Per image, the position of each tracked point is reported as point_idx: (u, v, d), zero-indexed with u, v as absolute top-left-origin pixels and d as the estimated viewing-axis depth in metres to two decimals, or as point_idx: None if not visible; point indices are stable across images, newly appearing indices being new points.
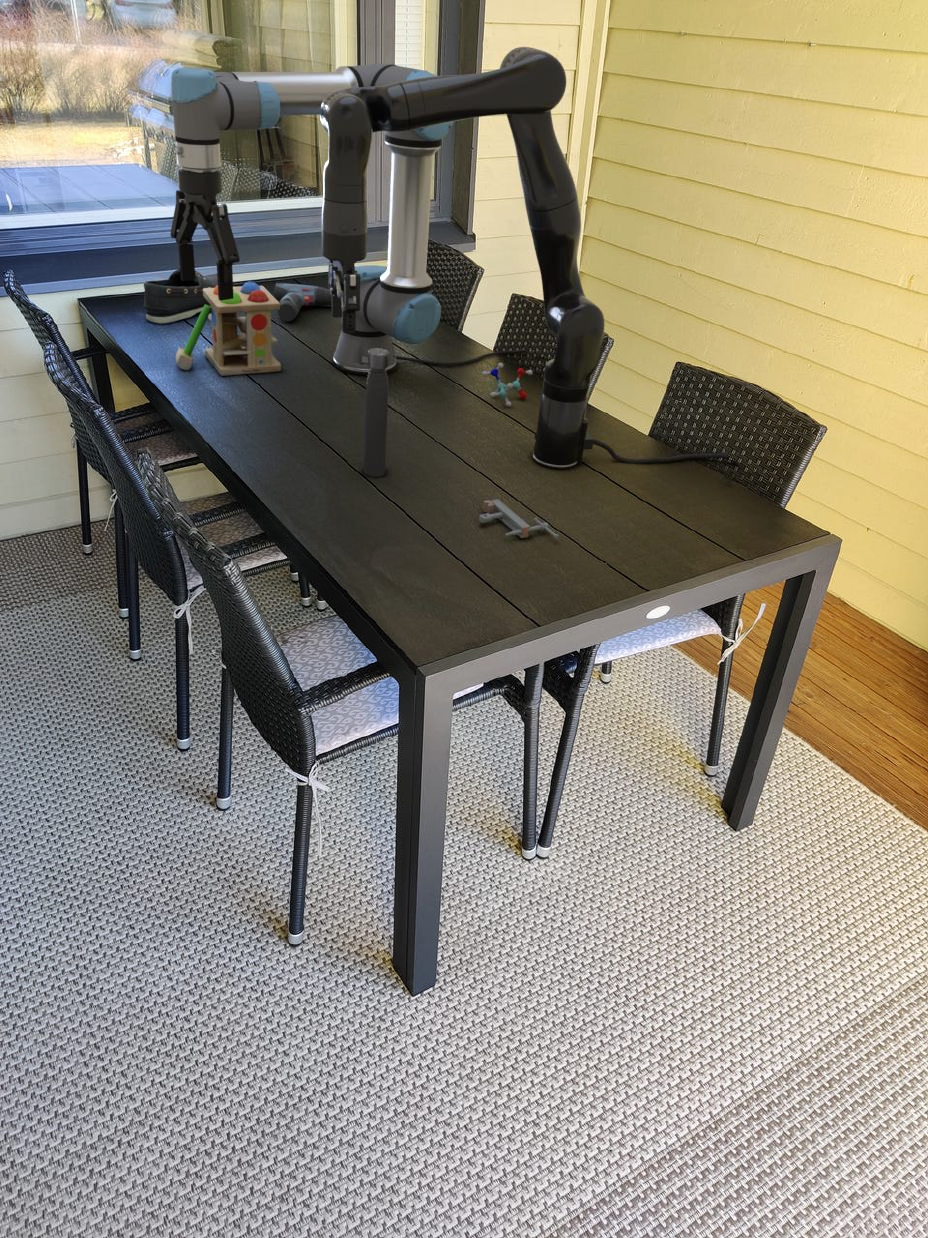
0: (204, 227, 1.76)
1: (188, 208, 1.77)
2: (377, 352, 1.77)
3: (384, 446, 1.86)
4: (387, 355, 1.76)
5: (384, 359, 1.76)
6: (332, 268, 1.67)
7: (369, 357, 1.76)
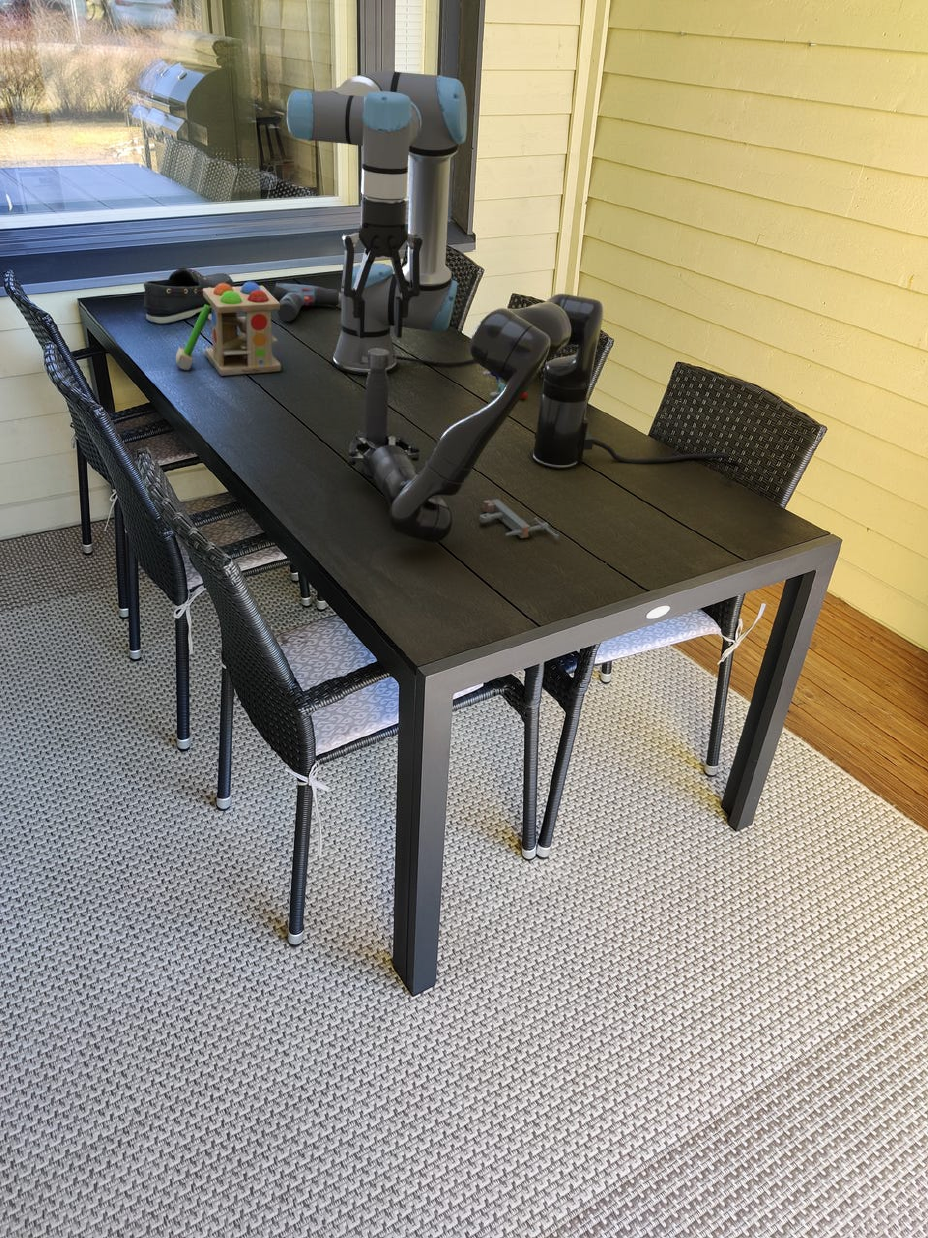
0: None
1: None
2: (377, 352, 1.77)
3: None
4: (387, 355, 1.76)
5: (384, 359, 1.76)
6: None
7: (369, 357, 1.76)
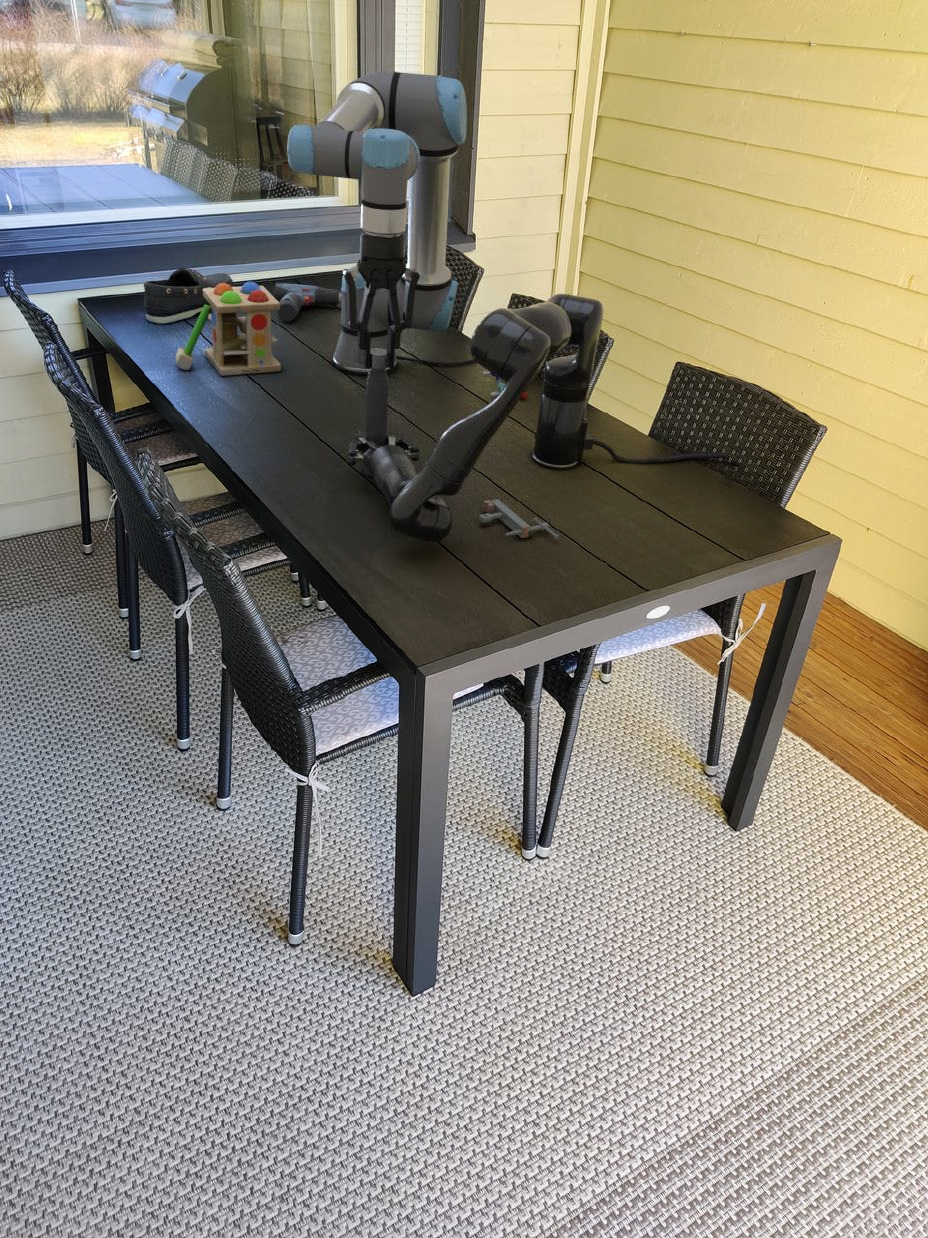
0: None
1: None
2: (377, 352, 1.77)
3: None
4: (387, 355, 1.76)
5: (384, 359, 1.76)
6: None
7: None
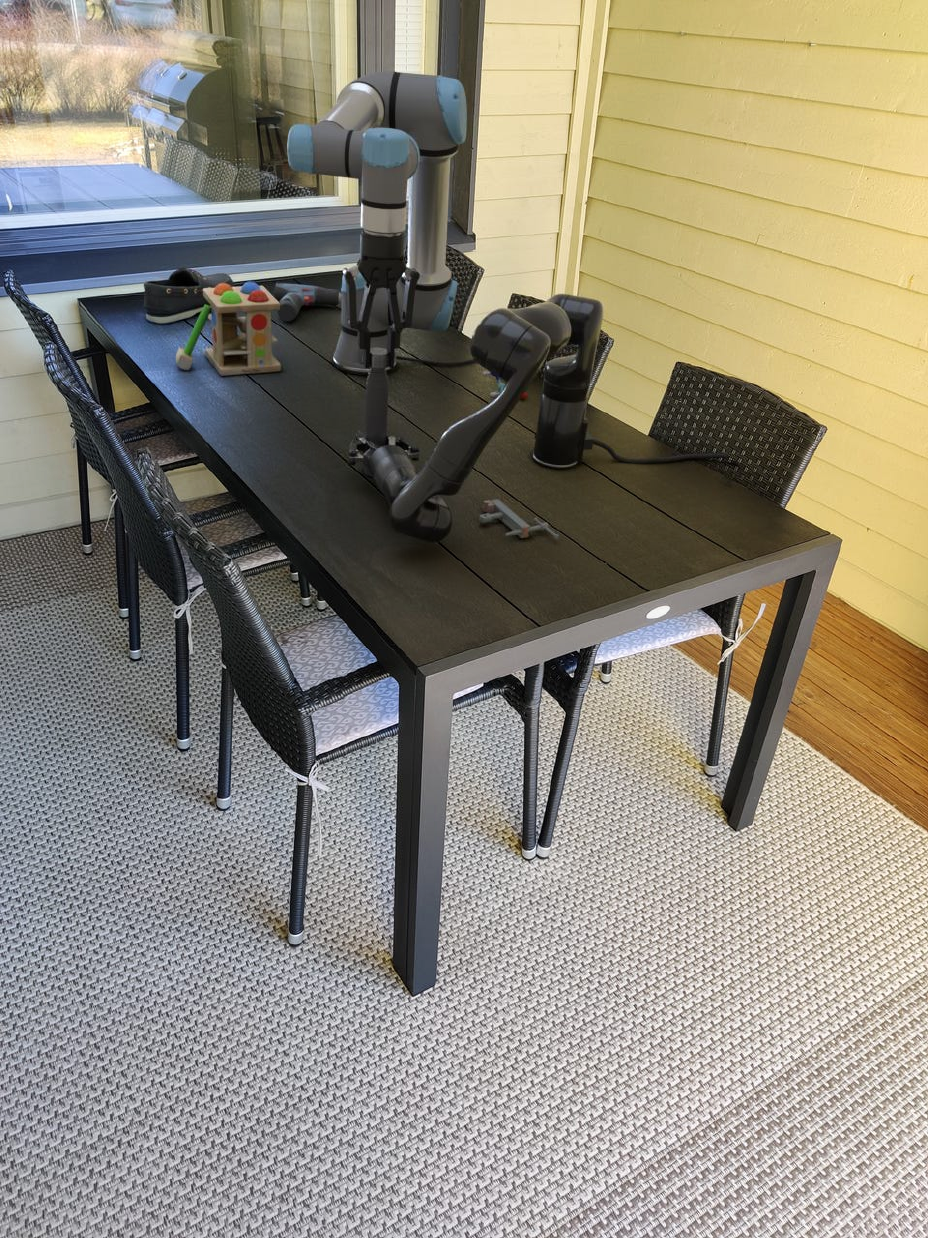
0: None
1: None
2: (381, 351, 1.77)
3: None
4: None
5: None
6: None
7: (385, 358, 1.76)
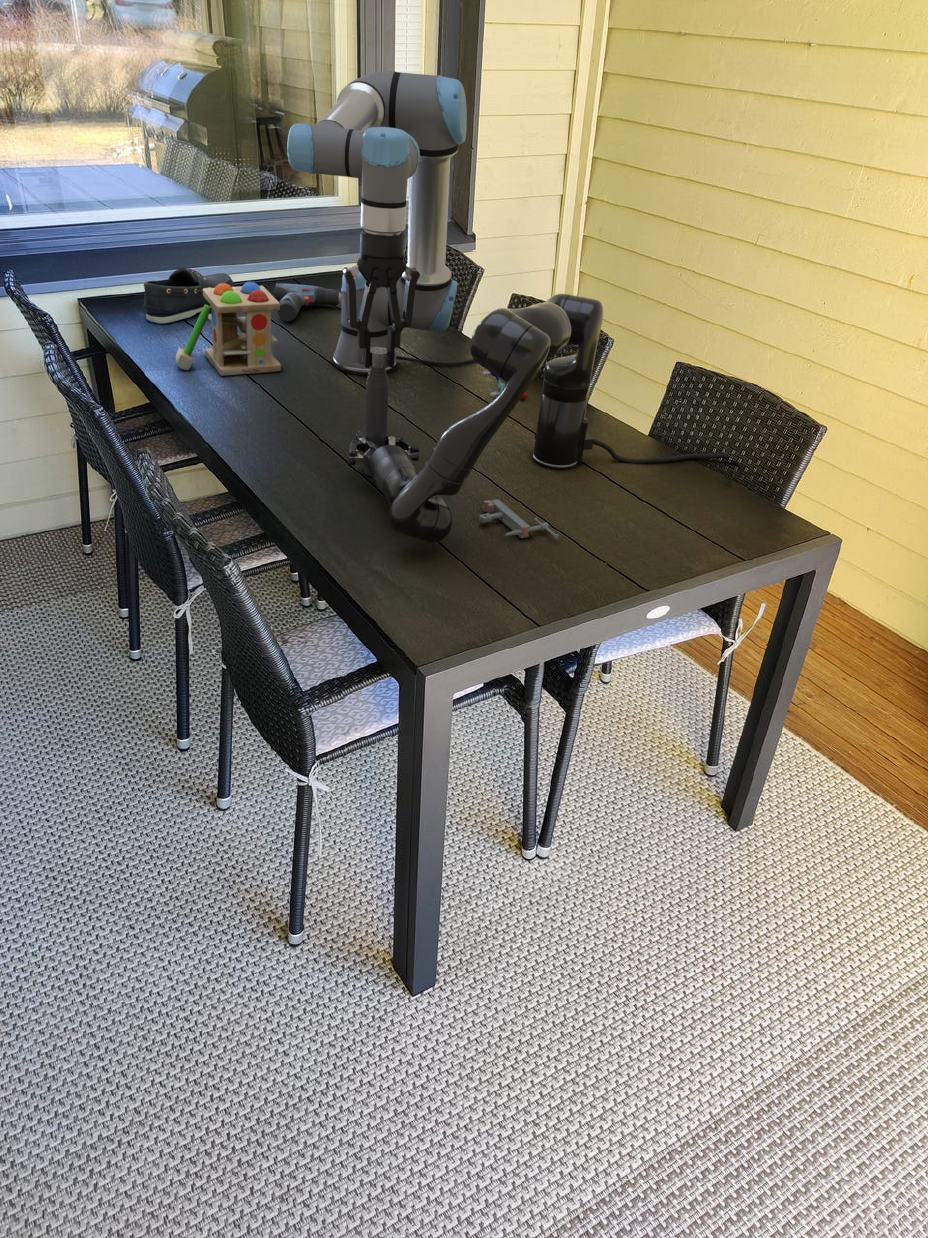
0: None
1: None
2: (378, 349, 1.77)
3: None
4: None
5: None
6: None
7: None
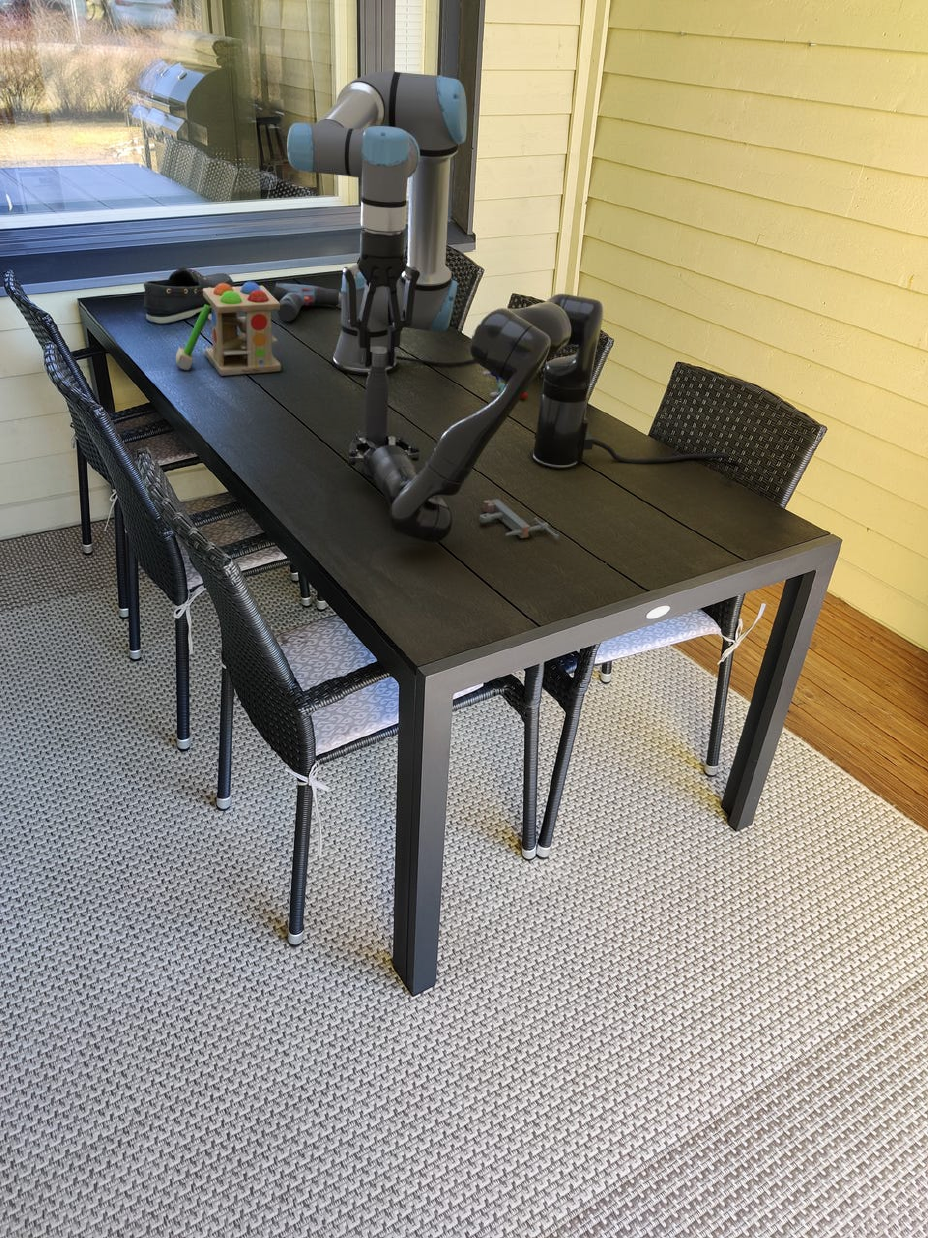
0: None
1: None
2: (376, 349, 1.77)
3: None
4: (378, 354, 1.75)
5: (375, 357, 1.76)
6: None
7: None
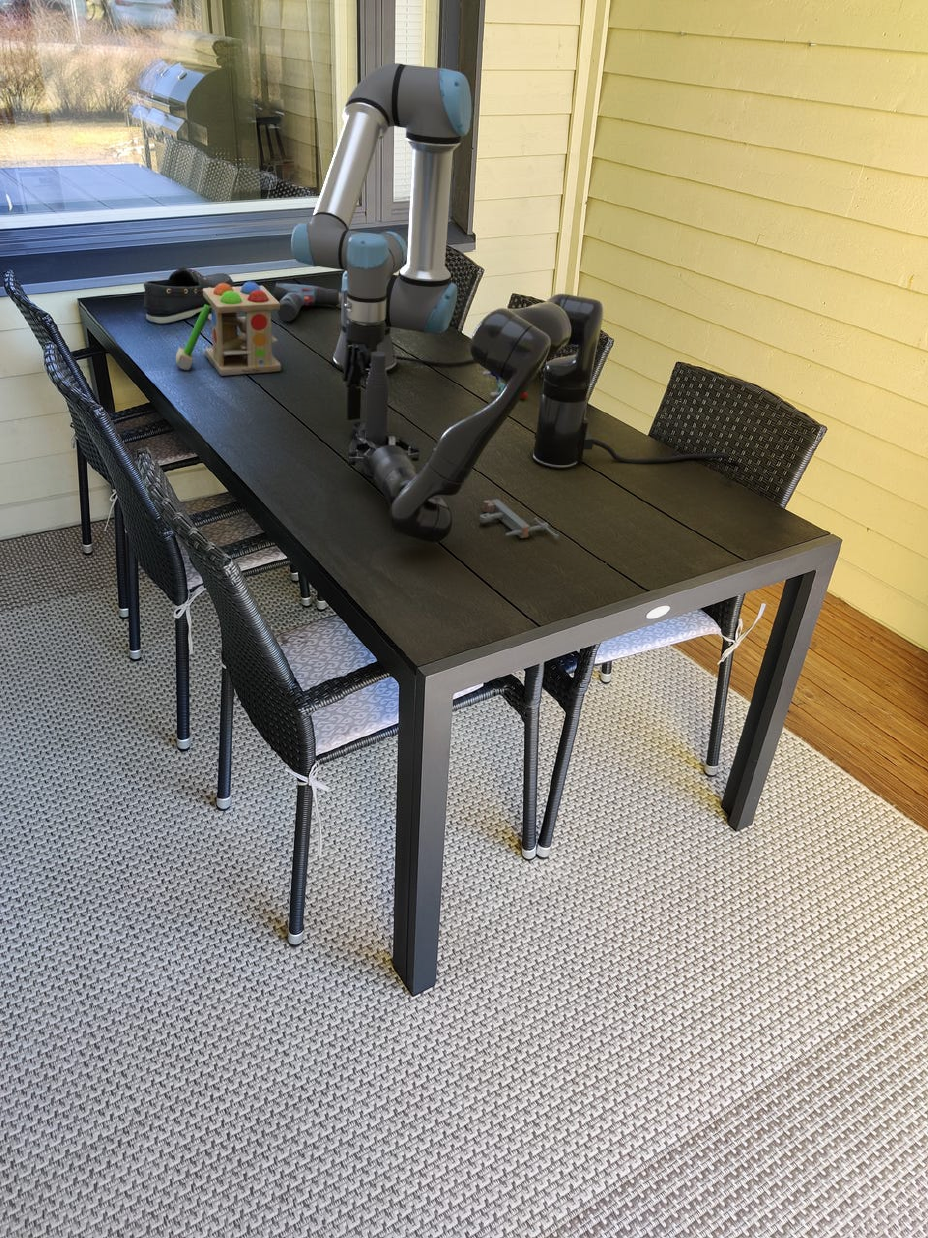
0: (362, 373, 1.92)
1: (353, 353, 1.93)
2: (363, 426, 2.02)
3: None
4: None
5: None
6: None
7: None
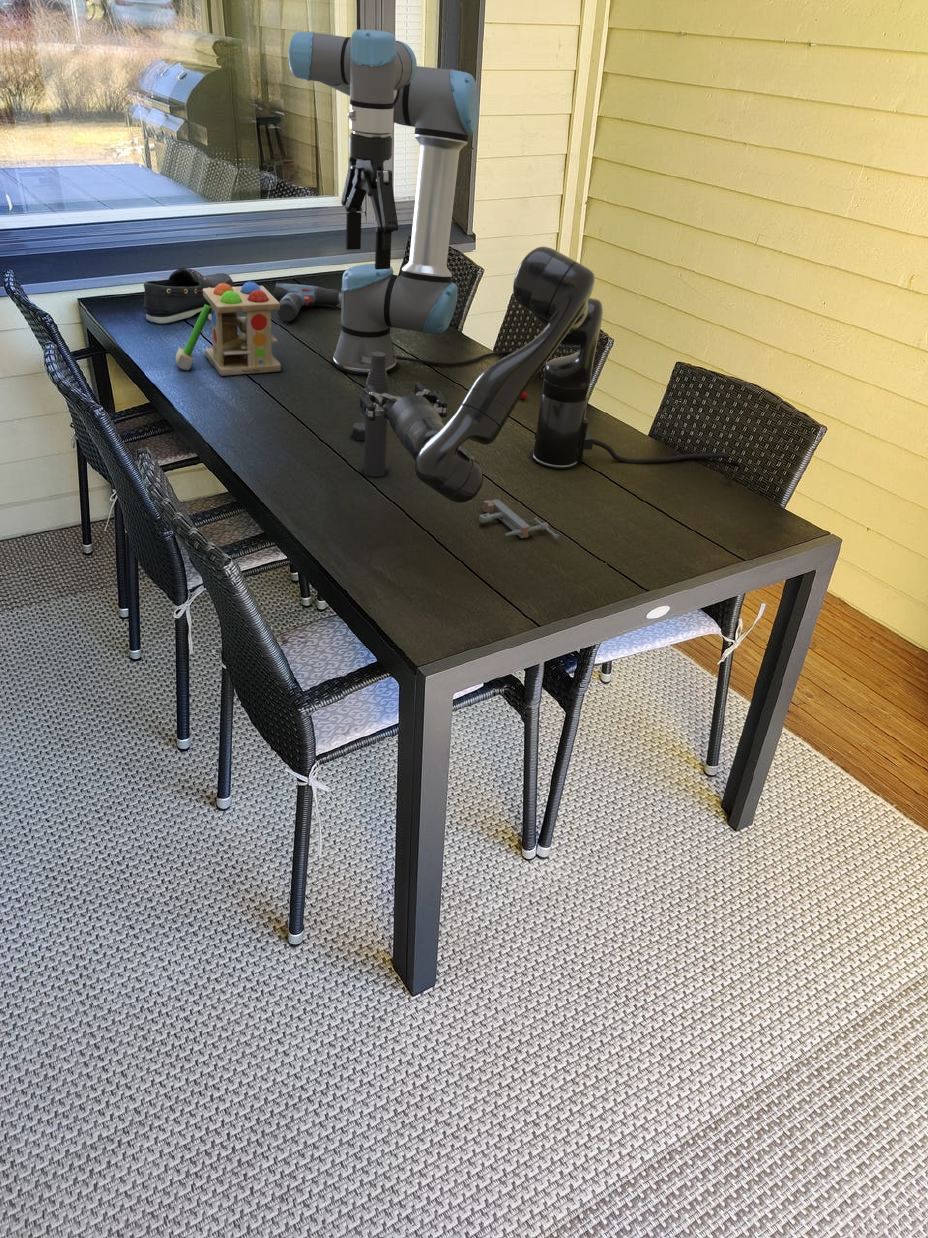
0: (368, 193, 1.73)
1: (356, 174, 1.75)
2: (363, 426, 2.02)
3: (384, 446, 1.86)
4: None
5: None
6: None
7: (360, 432, 2.01)
